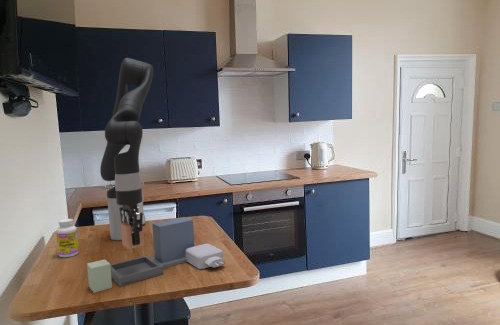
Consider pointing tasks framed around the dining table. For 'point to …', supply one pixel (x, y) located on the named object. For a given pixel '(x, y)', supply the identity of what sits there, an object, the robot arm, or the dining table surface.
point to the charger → (204, 256)
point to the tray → (135, 270)
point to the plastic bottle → (141, 209)
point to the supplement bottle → (67, 238)
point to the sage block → (99, 275)
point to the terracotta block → (130, 236)
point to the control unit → (172, 241)
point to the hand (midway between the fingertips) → (133, 242)
